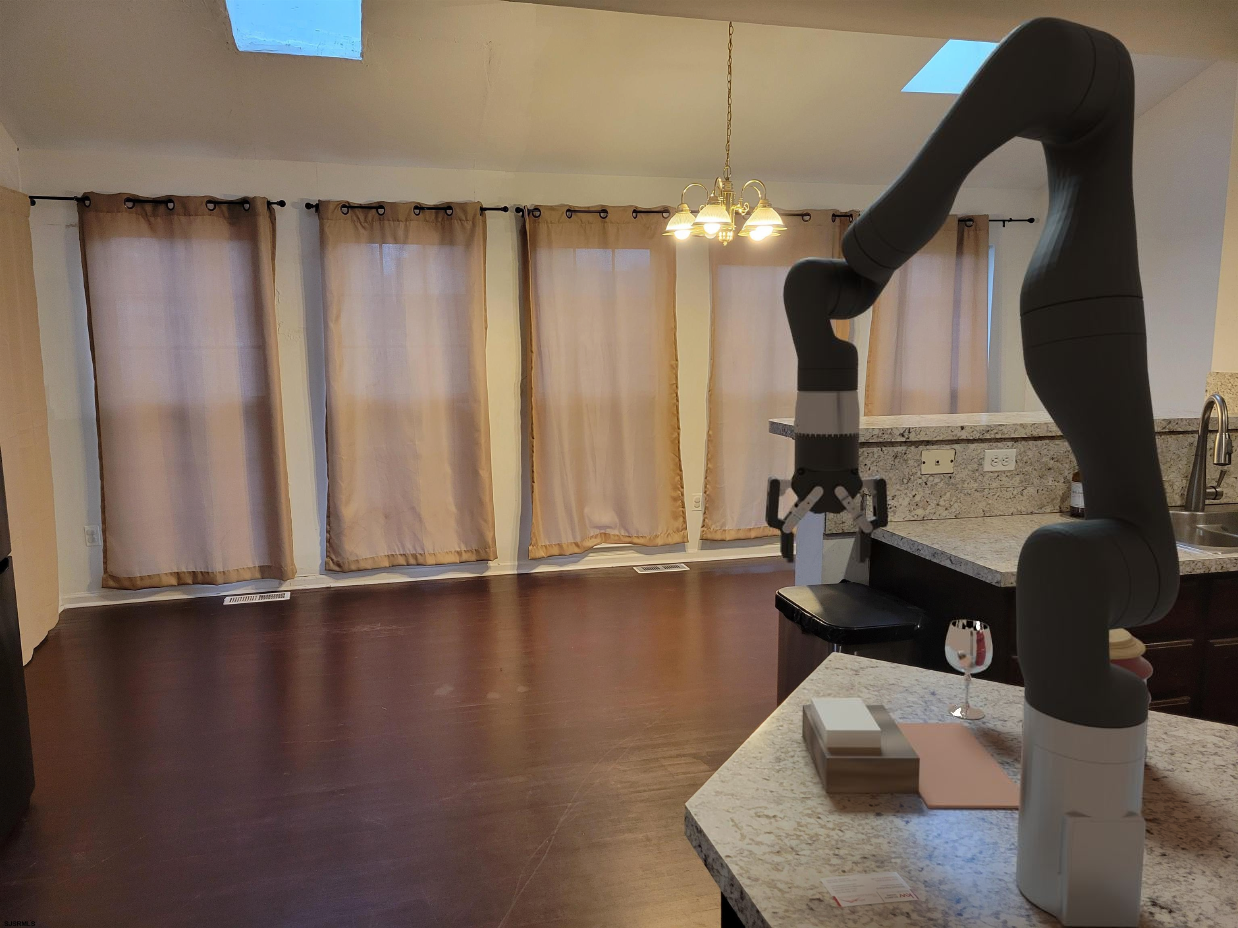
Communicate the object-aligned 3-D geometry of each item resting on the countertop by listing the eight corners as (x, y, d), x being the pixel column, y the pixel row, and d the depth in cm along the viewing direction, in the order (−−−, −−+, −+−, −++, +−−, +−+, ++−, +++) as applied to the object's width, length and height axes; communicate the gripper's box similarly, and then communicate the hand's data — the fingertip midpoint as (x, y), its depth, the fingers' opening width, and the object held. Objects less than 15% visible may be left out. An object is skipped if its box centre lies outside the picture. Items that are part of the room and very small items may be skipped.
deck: (918, 792, 90) (919, 758, 89) (826, 792, 90) (826, 757, 90) (882, 735, 104) (883, 704, 103) (802, 735, 104) (802, 704, 104)
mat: (1034, 808, 87) (1034, 805, 86) (928, 807, 87) (928, 804, 87) (962, 725, 106) (962, 722, 106) (875, 724, 107) (876, 722, 107)
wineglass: (997, 721, 107) (1001, 632, 106) (952, 721, 107) (955, 632, 106) (979, 703, 113) (982, 618, 112) (936, 703, 113) (939, 618, 112)
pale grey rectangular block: (880, 747, 92) (881, 730, 92) (826, 747, 92) (826, 730, 92) (860, 713, 101) (860, 697, 101) (810, 713, 101) (810, 697, 101)
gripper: (770, 432, 96) (769, 569, 97) (895, 430, 95) (892, 569, 97) (763, 427, 103) (762, 555, 105) (879, 426, 102) (877, 555, 104)
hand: (825, 561), depth 101 cm, fingers open, 8 cm apart
